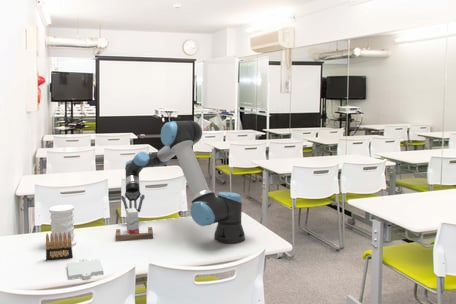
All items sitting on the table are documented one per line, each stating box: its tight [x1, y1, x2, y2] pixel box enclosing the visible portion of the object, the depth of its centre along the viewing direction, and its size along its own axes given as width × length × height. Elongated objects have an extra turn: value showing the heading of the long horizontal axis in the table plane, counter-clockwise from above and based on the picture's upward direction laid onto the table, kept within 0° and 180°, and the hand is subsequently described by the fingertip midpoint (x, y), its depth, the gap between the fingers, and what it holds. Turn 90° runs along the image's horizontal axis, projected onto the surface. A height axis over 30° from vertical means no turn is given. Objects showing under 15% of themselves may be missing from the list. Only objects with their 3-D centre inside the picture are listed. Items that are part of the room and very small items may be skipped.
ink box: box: [125, 207, 140, 234], centre depth 222 cm, size 9×5×12 cm, turn 23°
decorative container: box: [48, 204, 77, 247], centre depth 203 cm, size 12×12×18 cm
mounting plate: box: [66, 258, 104, 281], centre depth 175 cm, size 18×13×2 cm
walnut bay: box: [114, 226, 154, 242], centre depth 216 cm, size 11×18×2 cm, turn 103°
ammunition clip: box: [45, 232, 74, 262], centre depth 187 cm, size 11×2×12 cm, turn 106°
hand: (133, 223), depth 228 cm, fingers closed
